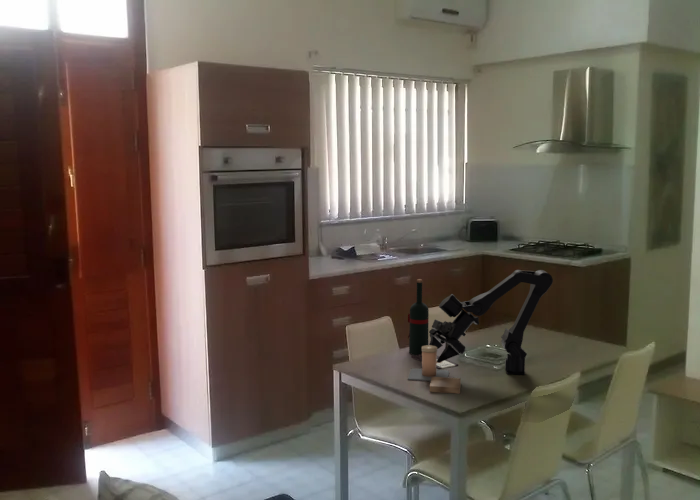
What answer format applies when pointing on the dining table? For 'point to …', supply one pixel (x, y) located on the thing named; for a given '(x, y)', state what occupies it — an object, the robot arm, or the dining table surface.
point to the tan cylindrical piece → (429, 360)
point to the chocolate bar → (438, 365)
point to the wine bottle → (418, 323)
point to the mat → (417, 375)
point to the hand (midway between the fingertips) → (431, 358)
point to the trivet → (445, 385)
